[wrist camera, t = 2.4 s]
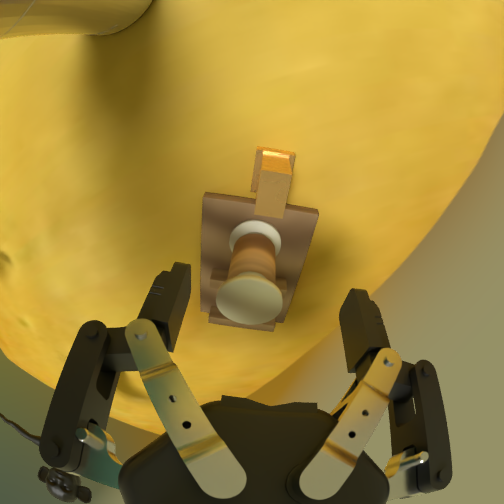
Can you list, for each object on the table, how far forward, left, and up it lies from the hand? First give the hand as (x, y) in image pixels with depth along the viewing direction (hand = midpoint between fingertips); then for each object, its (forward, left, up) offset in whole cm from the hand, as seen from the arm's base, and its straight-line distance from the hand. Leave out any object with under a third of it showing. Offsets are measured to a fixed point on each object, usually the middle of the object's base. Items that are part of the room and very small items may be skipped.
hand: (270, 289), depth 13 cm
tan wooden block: (0, 0, -16) cm, 16 cm away
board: (+12, -1, -16) cm, 20 cm away
